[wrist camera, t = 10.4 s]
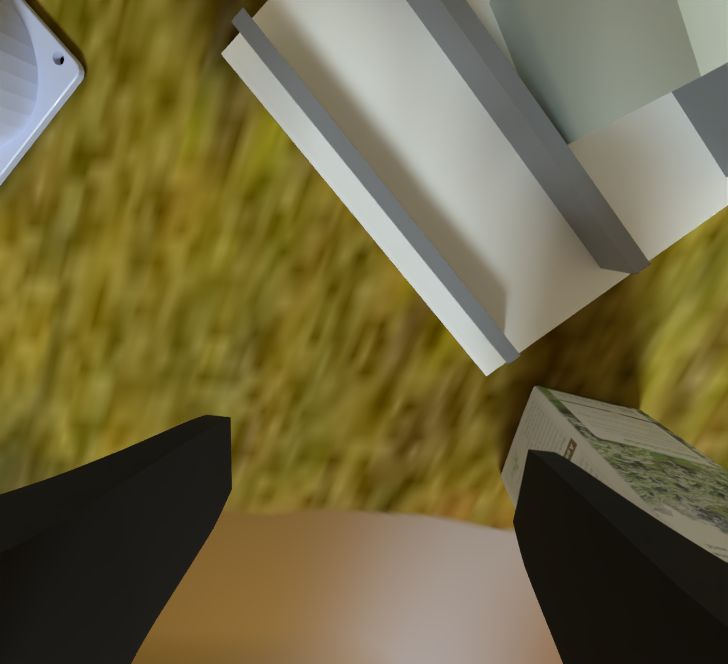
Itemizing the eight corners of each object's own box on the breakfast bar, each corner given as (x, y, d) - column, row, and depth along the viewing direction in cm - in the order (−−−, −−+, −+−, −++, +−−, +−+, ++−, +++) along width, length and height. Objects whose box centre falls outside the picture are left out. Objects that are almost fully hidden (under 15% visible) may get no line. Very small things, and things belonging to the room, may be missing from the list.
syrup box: (496, 477, 21) (706, 991, 7) (532, 377, 19) (905, 777, 5) (600, 502, 21) (1036, 1080, 7) (645, 404, 19) (1343, 887, 5)
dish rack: (231, 64, 17) (188, 21, 13) (501, -242, 14) (536, -399, 10) (481, 368, 19) (500, 398, 16) (757, 171, 16) (854, 155, 13)
